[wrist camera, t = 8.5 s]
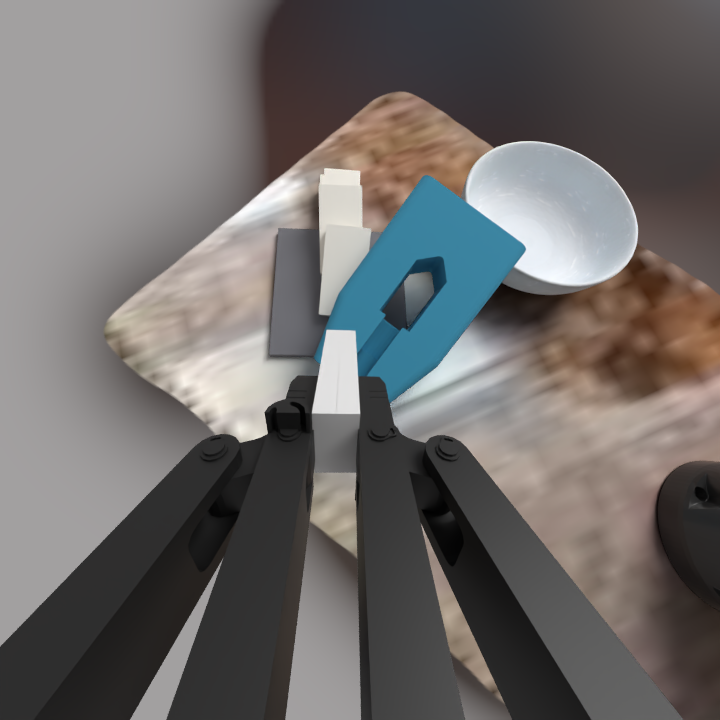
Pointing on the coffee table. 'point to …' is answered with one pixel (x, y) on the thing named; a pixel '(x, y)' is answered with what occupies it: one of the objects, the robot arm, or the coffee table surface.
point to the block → (450, 279)
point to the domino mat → (308, 295)
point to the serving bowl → (554, 215)
